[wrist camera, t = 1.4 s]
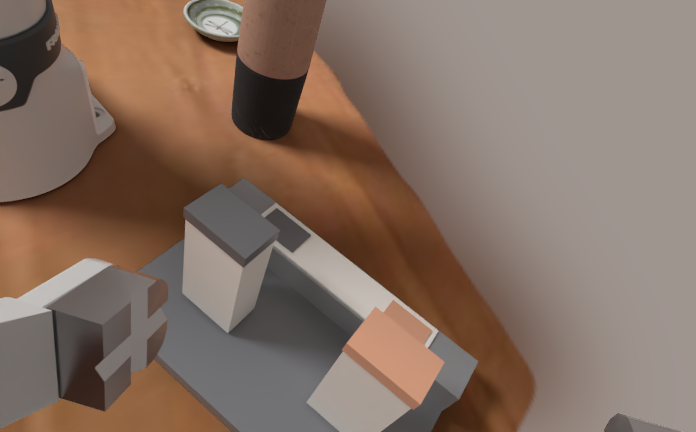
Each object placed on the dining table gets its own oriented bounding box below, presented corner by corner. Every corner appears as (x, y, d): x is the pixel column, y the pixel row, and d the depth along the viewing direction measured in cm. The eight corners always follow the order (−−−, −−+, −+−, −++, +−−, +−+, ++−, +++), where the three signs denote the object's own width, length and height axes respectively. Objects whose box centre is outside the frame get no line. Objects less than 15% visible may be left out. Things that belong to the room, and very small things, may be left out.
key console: (99, 308, 36) (92, 276, 32) (243, 204, 46) (249, 172, 43) (361, 552, 31) (386, 546, 27) (455, 375, 41) (483, 354, 38)
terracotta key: (358, 450, 33) (420, 404, 25) (304, 402, 34) (346, 343, 26) (381, 415, 35) (444, 362, 27) (329, 370, 36) (375, 306, 28)
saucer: (262, 27, 68) (265, 12, 66) (244, 61, 61) (246, 45, 60) (197, 4, 66) (198, -12, 65) (172, 37, 60) (172, 19, 58)
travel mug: (234, 92, 56) (258, -86, 42) (295, 107, 58) (338, -59, 43) (223, 132, 52) (245, -52, 37) (290, 147, 53) (337, -23, 39)
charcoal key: (227, 335, 36) (245, 259, 28) (180, 293, 37) (183, 207, 28) (255, 308, 38) (279, 230, 30) (210, 269, 39) (221, 183, 31)
